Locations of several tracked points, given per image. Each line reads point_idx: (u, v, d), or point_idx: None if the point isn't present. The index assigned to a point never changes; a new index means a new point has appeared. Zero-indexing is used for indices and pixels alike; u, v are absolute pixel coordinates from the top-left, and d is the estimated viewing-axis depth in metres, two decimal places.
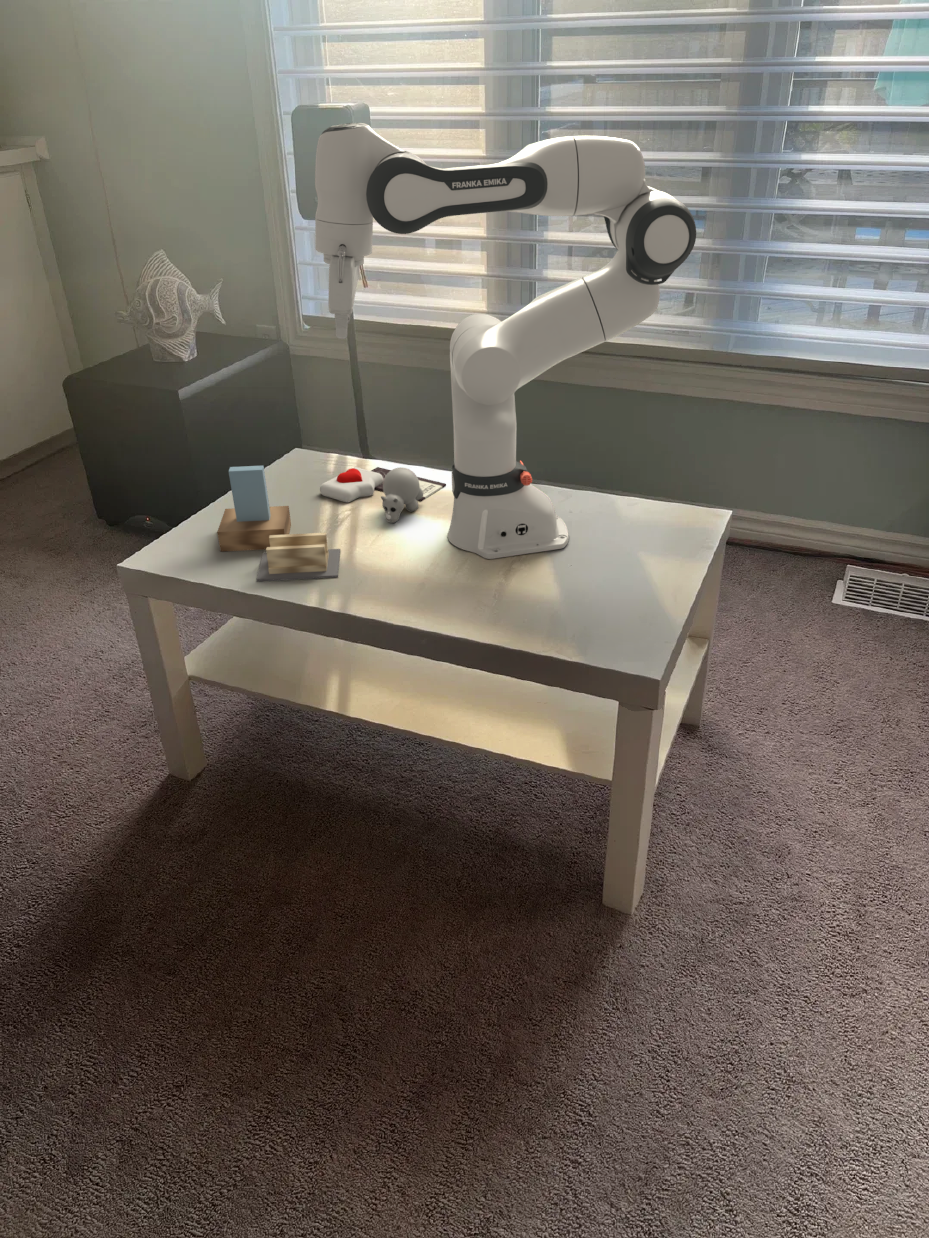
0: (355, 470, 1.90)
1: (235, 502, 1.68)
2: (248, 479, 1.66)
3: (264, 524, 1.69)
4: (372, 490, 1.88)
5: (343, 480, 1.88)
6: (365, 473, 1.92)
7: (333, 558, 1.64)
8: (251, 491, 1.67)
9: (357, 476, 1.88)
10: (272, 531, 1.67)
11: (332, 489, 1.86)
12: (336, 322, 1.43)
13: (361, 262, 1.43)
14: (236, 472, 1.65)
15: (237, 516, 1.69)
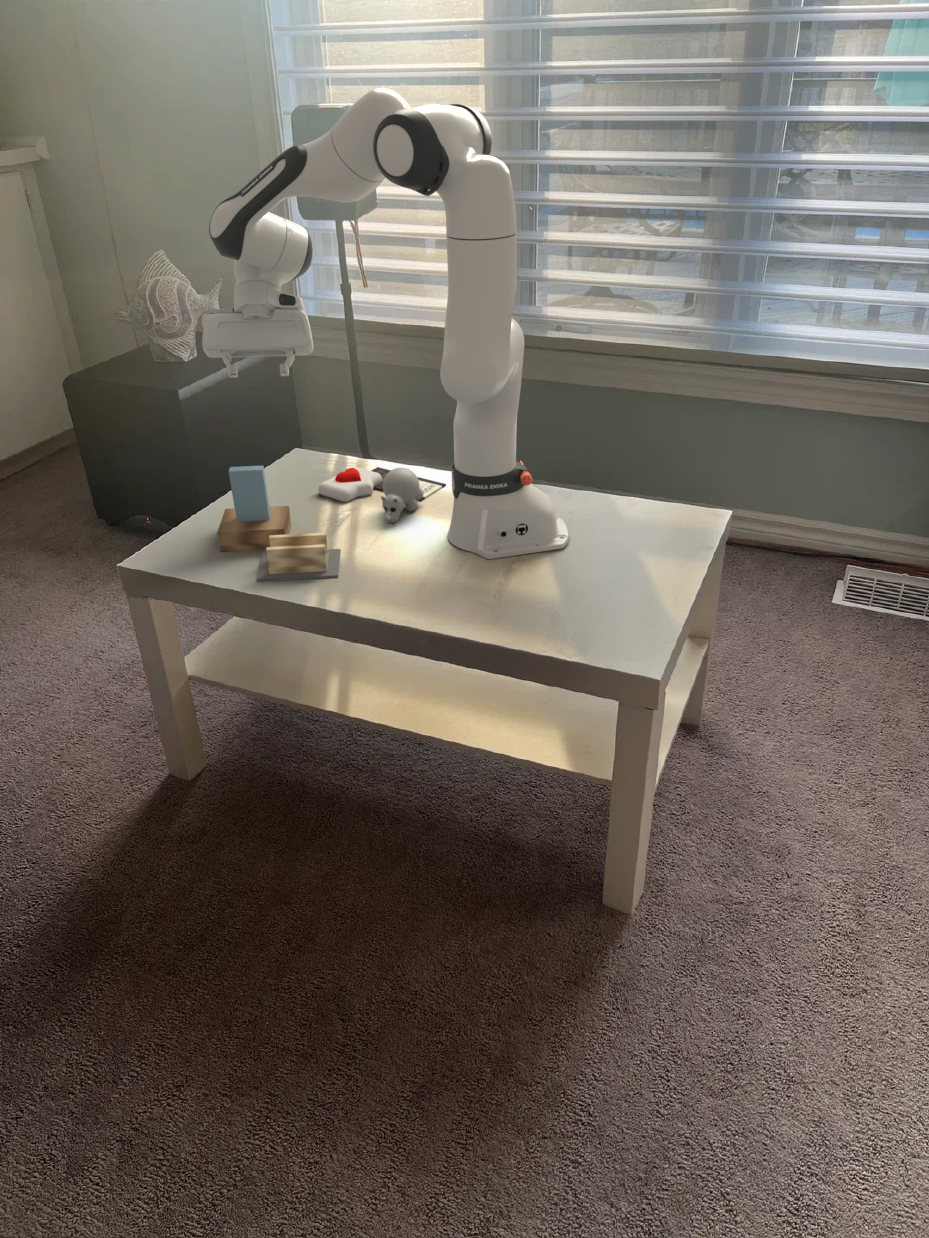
0: (354, 470, 1.90)
1: (235, 502, 1.68)
2: (248, 479, 1.66)
3: (264, 524, 1.69)
4: (371, 490, 1.88)
5: (342, 480, 1.88)
6: (363, 473, 1.92)
7: (333, 558, 1.64)
8: (251, 491, 1.67)
9: (356, 476, 1.88)
10: (272, 531, 1.67)
11: (331, 489, 1.86)
12: (226, 365, 1.70)
13: (248, 314, 1.69)
14: (236, 472, 1.65)
15: (237, 516, 1.69)
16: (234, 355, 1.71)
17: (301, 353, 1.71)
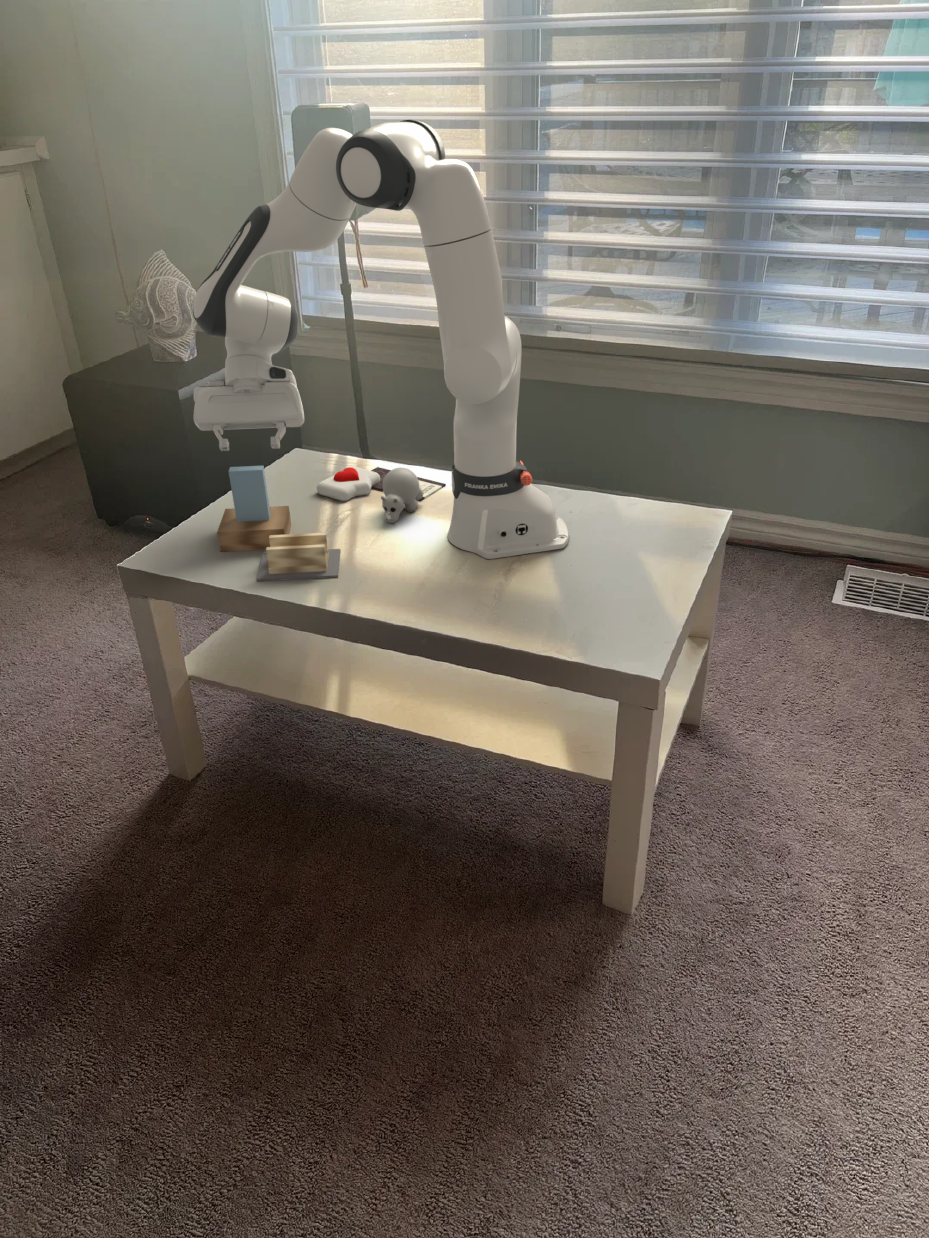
0: (352, 469, 1.90)
1: (235, 502, 1.68)
2: (248, 479, 1.66)
3: (264, 524, 1.69)
4: (369, 489, 1.88)
5: (340, 479, 1.88)
6: (362, 472, 1.92)
7: (333, 558, 1.64)
8: (251, 491, 1.67)
9: (354, 475, 1.89)
10: (272, 531, 1.67)
11: (329, 488, 1.87)
12: (218, 438, 1.71)
13: (238, 387, 1.70)
14: (236, 472, 1.65)
15: (237, 516, 1.69)
16: (225, 428, 1.72)
17: (292, 425, 1.72)
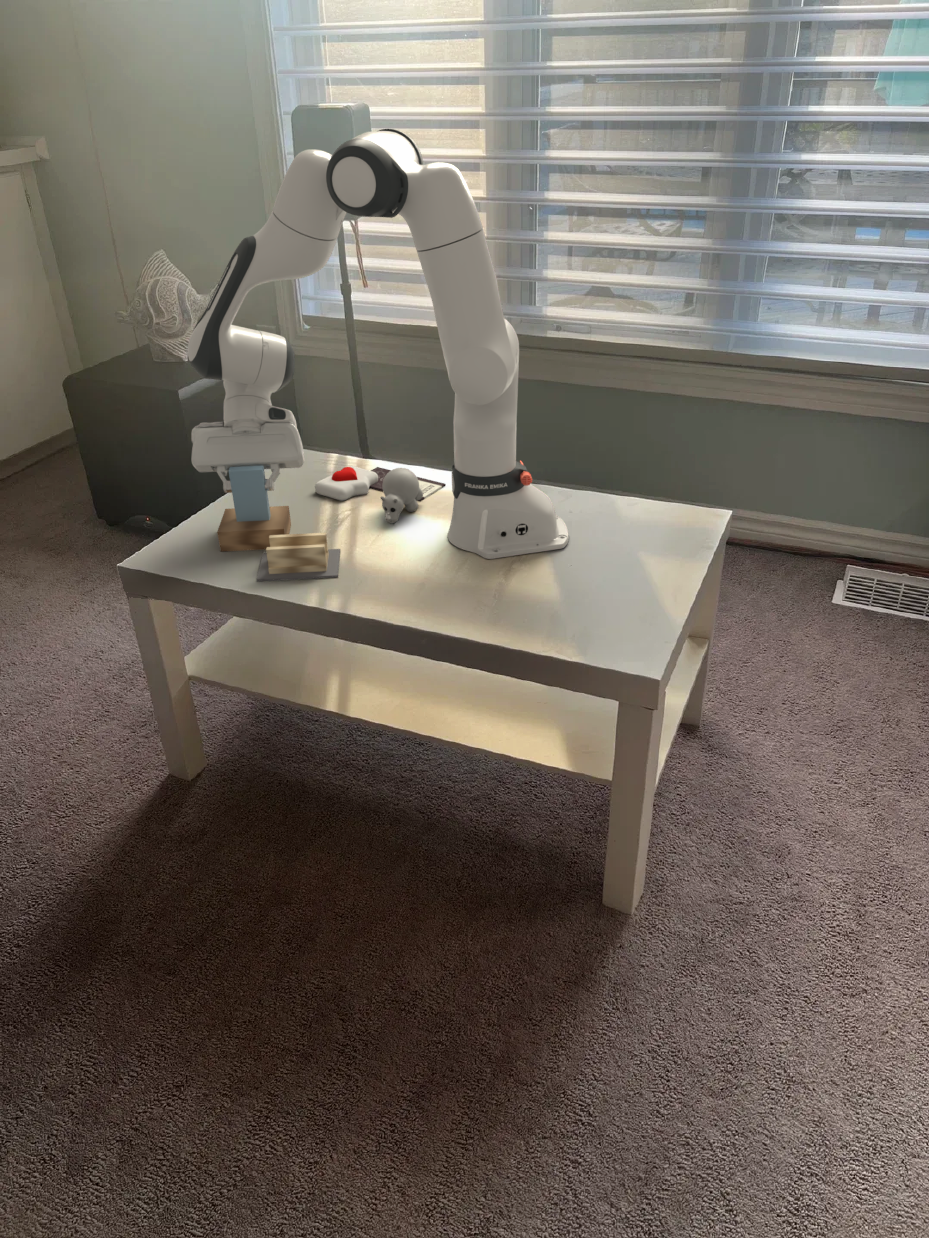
0: (350, 468, 1.91)
1: (235, 502, 1.68)
2: (248, 479, 1.66)
3: (264, 524, 1.69)
4: (367, 488, 1.88)
5: (338, 478, 1.88)
6: (360, 471, 1.93)
7: (333, 558, 1.64)
8: (251, 491, 1.67)
9: (352, 474, 1.89)
10: (272, 531, 1.67)
11: (327, 488, 1.87)
12: (222, 480, 1.68)
13: (237, 429, 1.67)
14: (236, 472, 1.65)
15: (237, 516, 1.69)
16: None
17: (292, 466, 1.69)
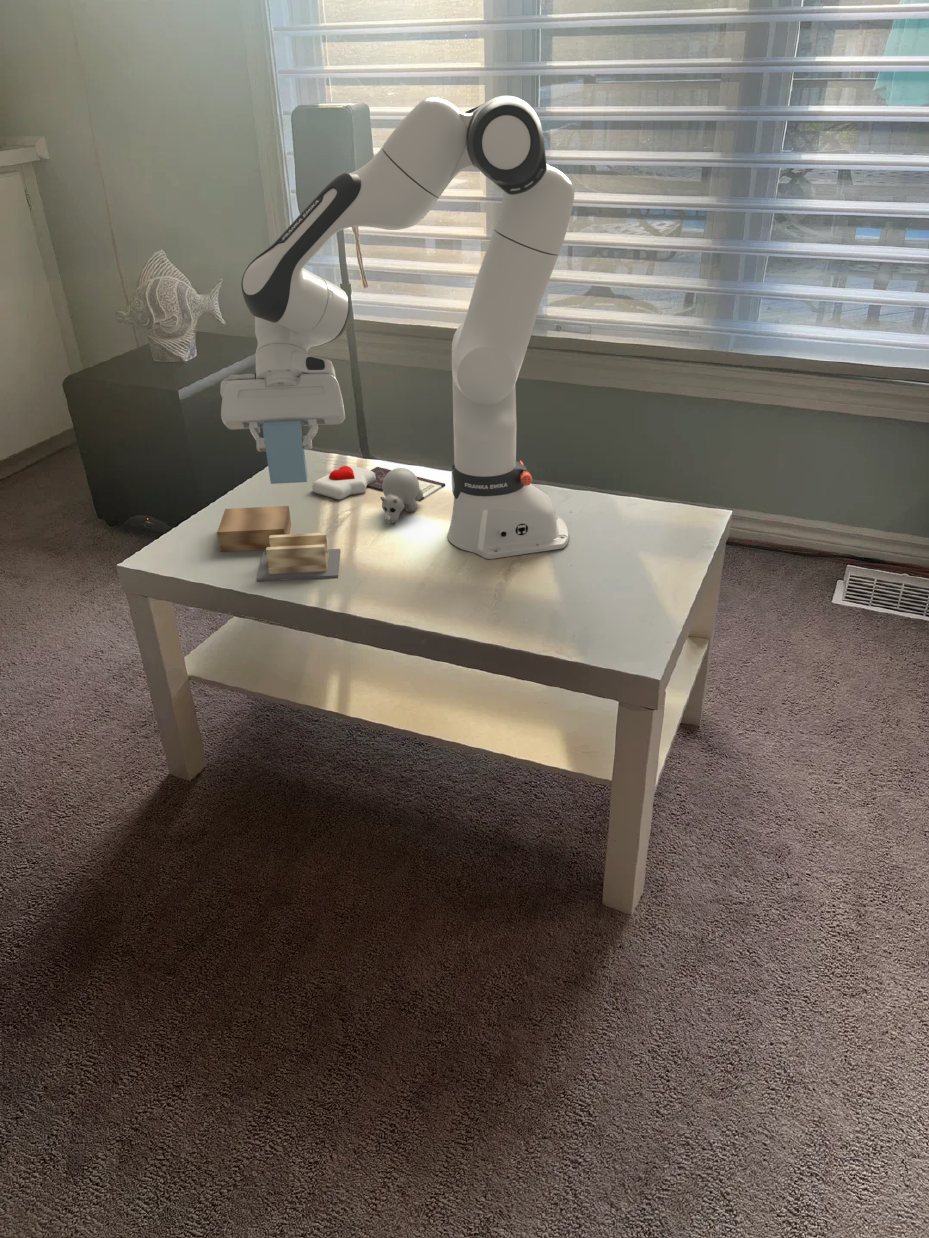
0: (347, 468, 1.91)
1: (269, 462, 1.52)
2: (284, 436, 1.49)
3: (264, 524, 1.69)
4: (364, 487, 1.89)
5: (335, 477, 1.89)
6: (357, 471, 1.93)
7: (333, 558, 1.64)
8: (287, 449, 1.51)
9: (349, 474, 1.89)
10: (272, 531, 1.67)
11: (324, 487, 1.87)
12: (254, 437, 1.52)
13: (271, 380, 1.51)
14: (271, 428, 1.49)
15: (271, 478, 1.53)
16: None
17: (331, 422, 1.53)
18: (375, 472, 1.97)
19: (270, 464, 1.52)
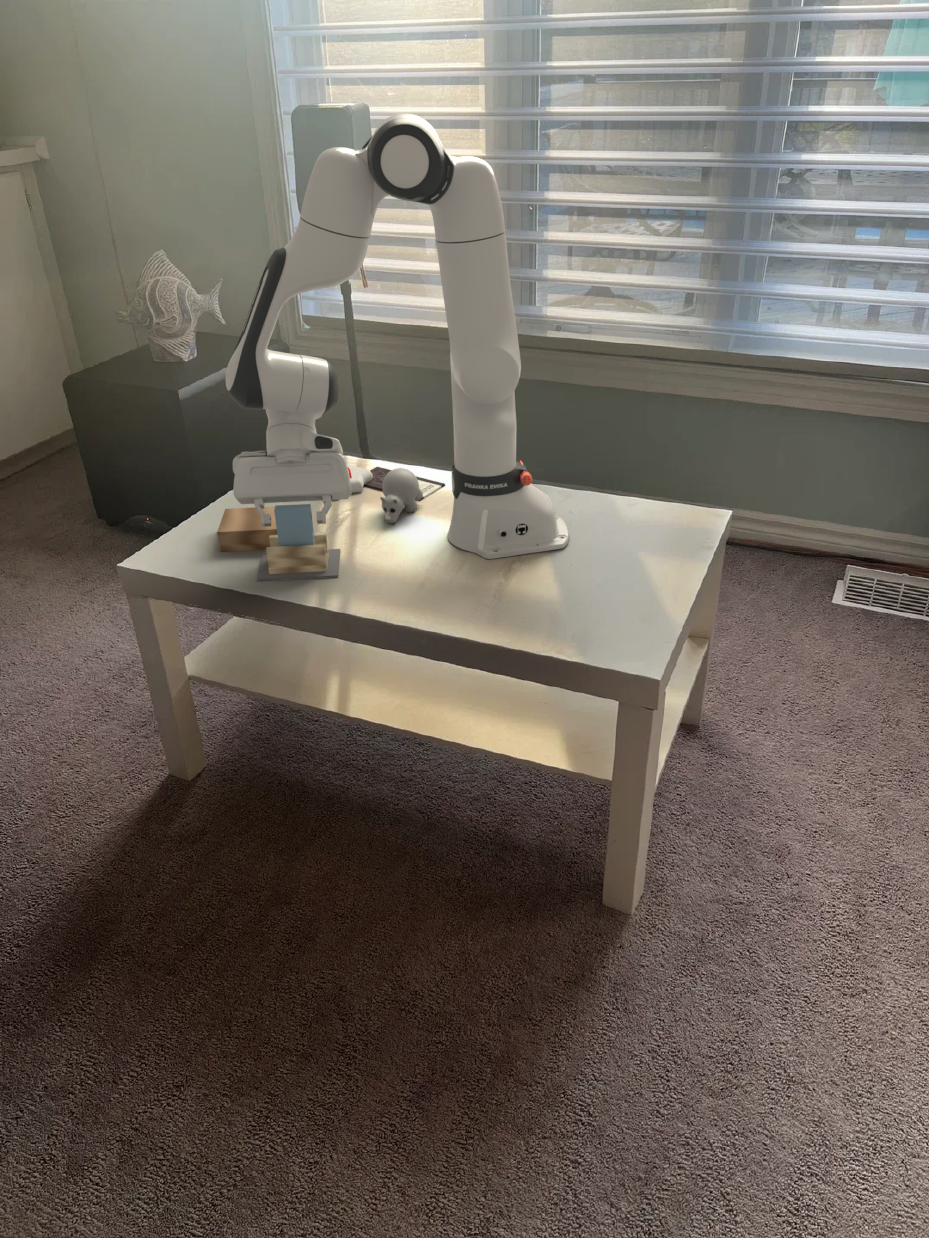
0: None
1: (280, 542, 1.59)
2: (294, 518, 1.57)
3: None
4: (361, 487, 1.89)
5: None
6: (354, 470, 1.93)
7: (333, 558, 1.64)
8: (297, 531, 1.58)
9: None
10: (272, 531, 1.67)
11: None
12: None
13: (282, 458, 1.58)
14: (282, 511, 1.56)
15: None
16: (267, 501, 1.60)
17: (339, 498, 1.60)
18: (375, 472, 1.98)
19: (281, 544, 1.60)
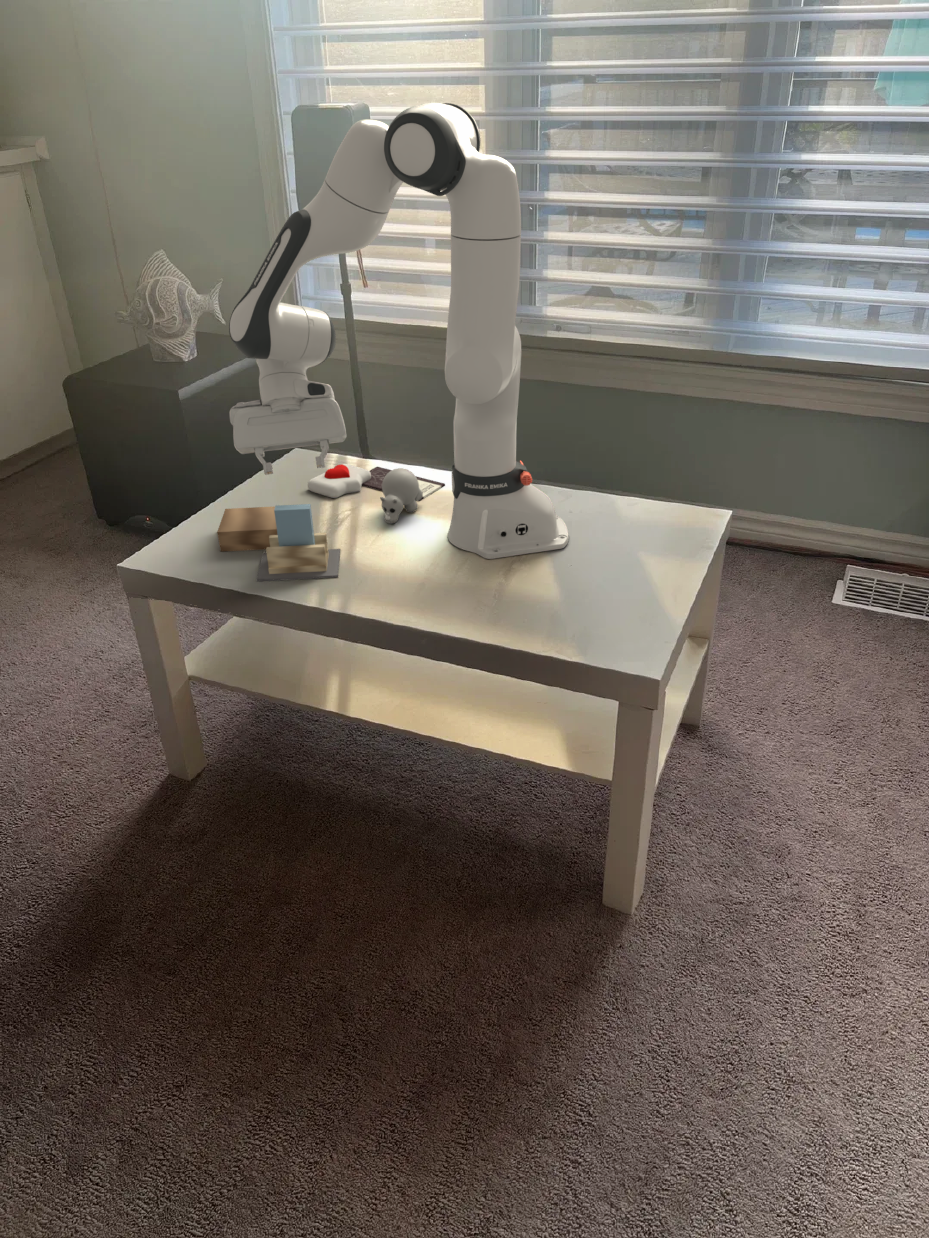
0: (343, 466, 1.92)
1: (280, 542, 1.59)
2: (294, 518, 1.57)
3: (264, 524, 1.69)
4: (359, 486, 1.89)
5: (331, 476, 1.90)
6: (353, 469, 1.94)
7: (333, 558, 1.64)
8: (297, 531, 1.58)
9: (344, 472, 1.90)
10: (272, 531, 1.67)
11: (319, 485, 1.88)
12: (260, 461, 1.66)
13: (277, 407, 1.64)
14: (282, 511, 1.56)
15: None
16: (266, 449, 1.67)
17: (335, 441, 1.68)
18: (375, 472, 1.98)
19: (281, 544, 1.60)
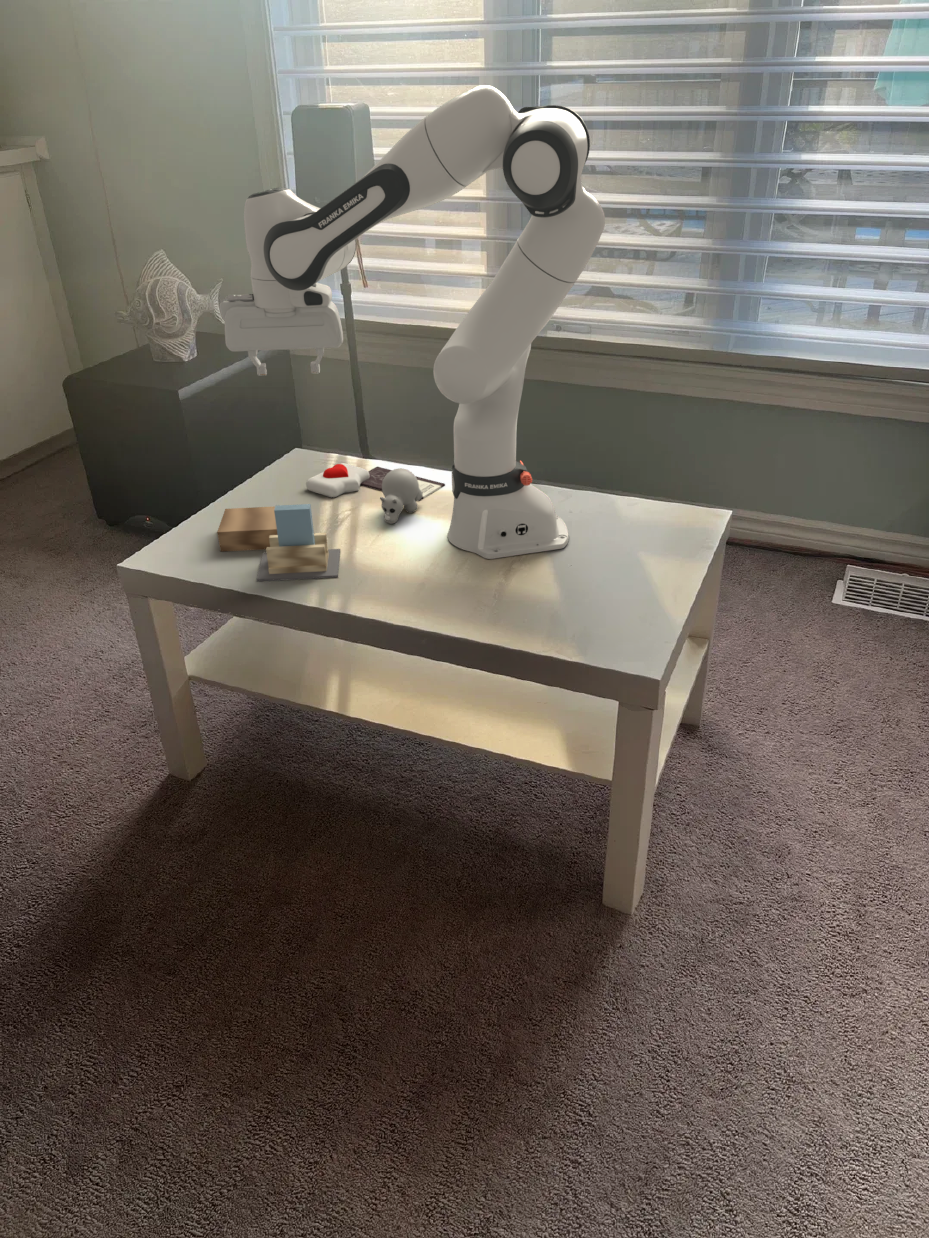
0: (341, 466, 1.92)
1: (280, 542, 1.59)
2: (294, 518, 1.57)
3: (264, 524, 1.69)
4: (357, 486, 1.90)
5: (329, 475, 1.90)
6: (351, 469, 1.94)
7: (333, 558, 1.64)
8: (297, 531, 1.58)
9: (343, 472, 1.90)
10: (272, 531, 1.67)
11: (318, 484, 1.88)
12: None
13: (271, 314, 1.55)
14: (282, 511, 1.56)
15: None
16: None
17: None
18: (375, 472, 1.98)
19: (281, 544, 1.60)
